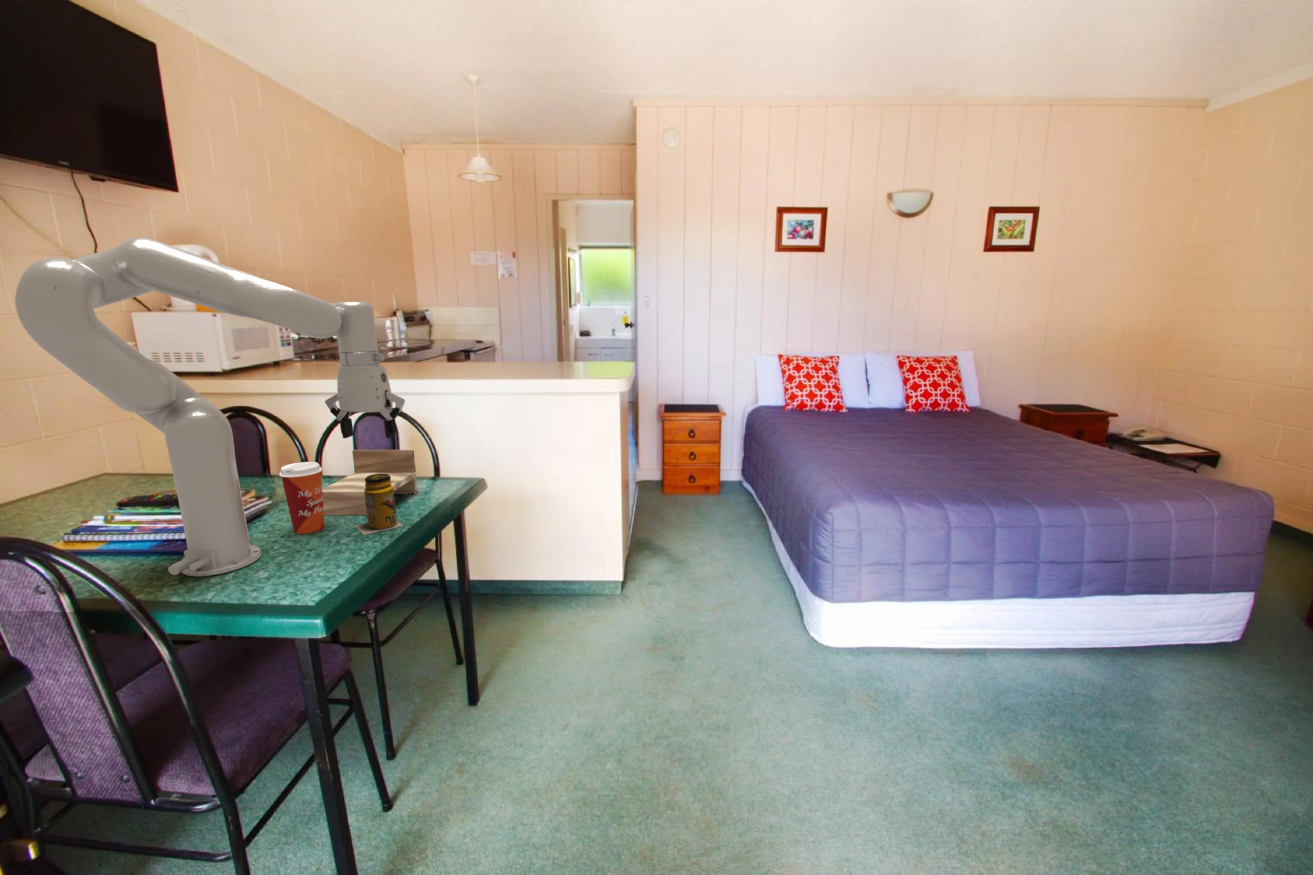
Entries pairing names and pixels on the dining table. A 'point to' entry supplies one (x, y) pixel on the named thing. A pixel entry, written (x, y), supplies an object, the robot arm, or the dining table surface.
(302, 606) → the dining table surface
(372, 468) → the shelf
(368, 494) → the condiment
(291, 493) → the coffee cup
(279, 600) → the dining table surface
